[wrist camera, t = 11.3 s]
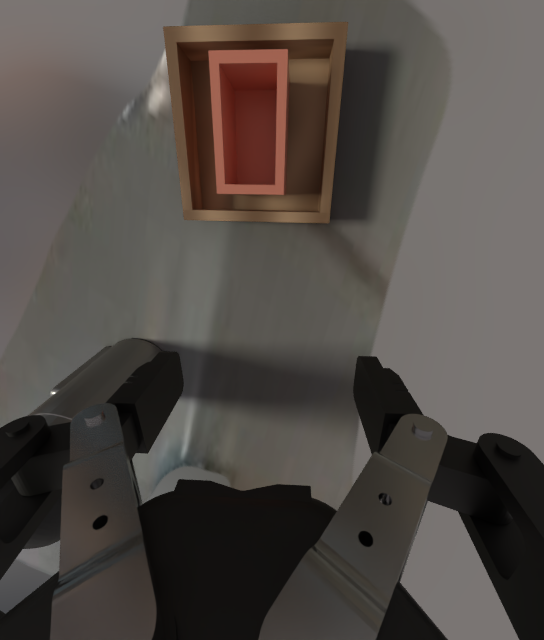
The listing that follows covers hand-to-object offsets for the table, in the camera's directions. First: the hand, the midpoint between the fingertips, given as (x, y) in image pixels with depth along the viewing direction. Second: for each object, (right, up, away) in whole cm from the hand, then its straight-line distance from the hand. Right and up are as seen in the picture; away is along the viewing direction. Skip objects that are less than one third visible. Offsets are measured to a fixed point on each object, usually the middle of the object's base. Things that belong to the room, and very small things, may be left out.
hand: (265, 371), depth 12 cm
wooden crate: (-1, +20, +14) cm, 24 cm away
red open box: (-1, +19, +14) cm, 24 cm away
